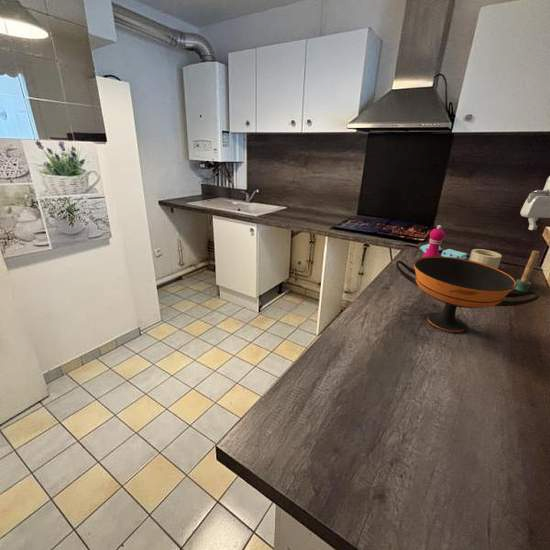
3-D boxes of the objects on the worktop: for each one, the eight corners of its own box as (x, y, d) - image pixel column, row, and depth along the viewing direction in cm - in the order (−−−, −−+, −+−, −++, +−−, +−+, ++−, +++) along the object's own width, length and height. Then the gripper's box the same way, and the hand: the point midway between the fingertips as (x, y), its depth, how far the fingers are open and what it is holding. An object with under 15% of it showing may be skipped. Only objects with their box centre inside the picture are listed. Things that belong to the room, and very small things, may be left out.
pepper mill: (437, 266, 136) (449, 225, 128) (436, 271, 130) (448, 228, 123) (421, 263, 140) (431, 222, 132) (419, 268, 134) (430, 225, 126)
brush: (521, 286, 118) (536, 249, 112) (530, 292, 114) (547, 253, 108) (510, 286, 118) (525, 249, 112) (519, 291, 114) (535, 253, 108)
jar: (481, 272, 132) (489, 249, 127) (499, 282, 122) (508, 257, 118) (459, 271, 131) (466, 248, 127) (474, 281, 122) (483, 257, 117)
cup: (375, 320, 91) (385, 268, 84) (397, 292, 110) (407, 247, 103) (519, 369, 72) (548, 307, 65) (515, 325, 91) (538, 273, 84)
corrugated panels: (427, 248, 163) (418, 251, 158) (428, 243, 162) (419, 245, 156) (497, 267, 138) (489, 271, 133) (499, 261, 137) (491, 265, 132)
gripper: (539, 191, 96) (524, 231, 101) (597, 192, 97) (579, 232, 103) (523, 188, 102) (510, 227, 107) (578, 189, 103) (562, 228, 108)
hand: (544, 230), depth 105 cm, fingers open, 8 cm apart
